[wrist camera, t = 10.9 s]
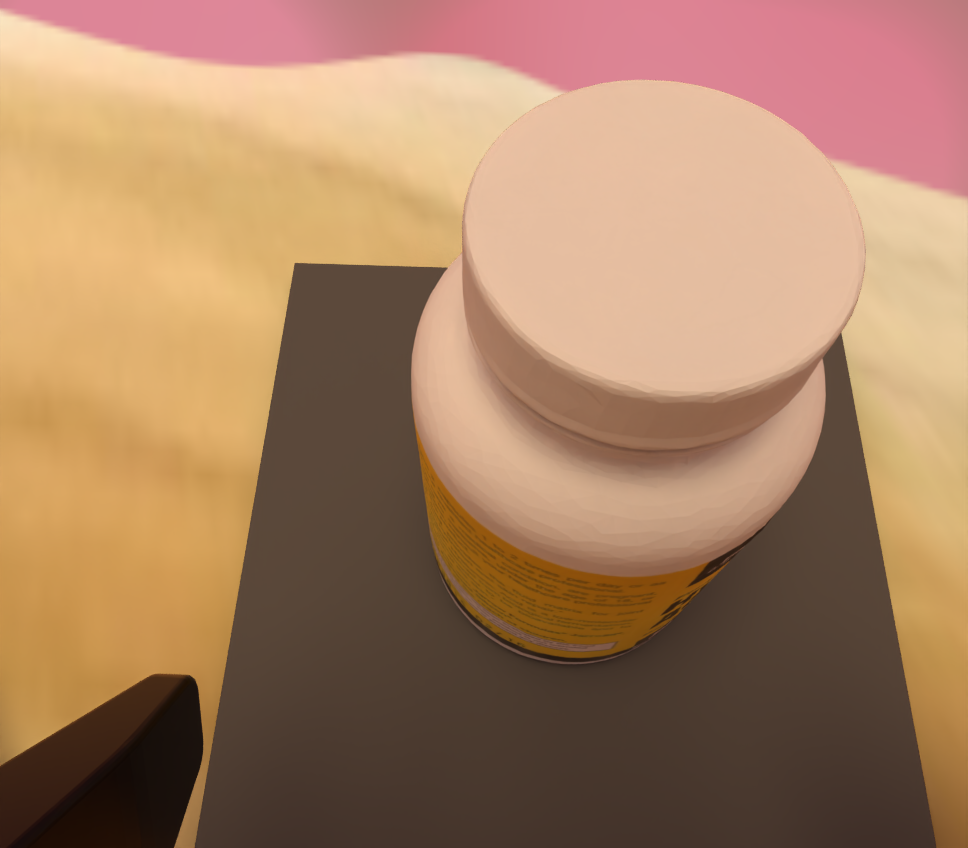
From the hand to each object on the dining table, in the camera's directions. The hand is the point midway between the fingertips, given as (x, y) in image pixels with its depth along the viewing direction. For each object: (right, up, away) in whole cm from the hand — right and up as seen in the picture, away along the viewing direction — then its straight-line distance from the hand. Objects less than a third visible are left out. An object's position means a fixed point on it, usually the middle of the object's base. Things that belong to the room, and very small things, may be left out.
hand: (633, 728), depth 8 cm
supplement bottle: (0, +1, +9) cm, 9 cm away
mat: (0, +1, +9) cm, 9 cm away
